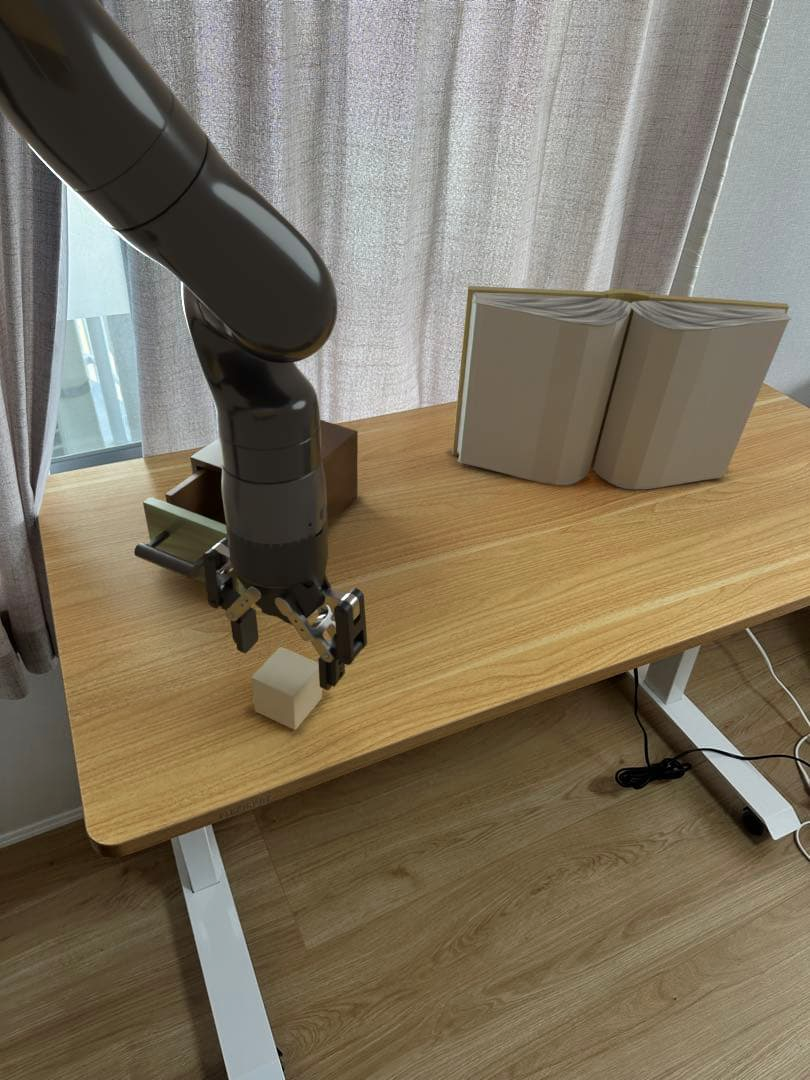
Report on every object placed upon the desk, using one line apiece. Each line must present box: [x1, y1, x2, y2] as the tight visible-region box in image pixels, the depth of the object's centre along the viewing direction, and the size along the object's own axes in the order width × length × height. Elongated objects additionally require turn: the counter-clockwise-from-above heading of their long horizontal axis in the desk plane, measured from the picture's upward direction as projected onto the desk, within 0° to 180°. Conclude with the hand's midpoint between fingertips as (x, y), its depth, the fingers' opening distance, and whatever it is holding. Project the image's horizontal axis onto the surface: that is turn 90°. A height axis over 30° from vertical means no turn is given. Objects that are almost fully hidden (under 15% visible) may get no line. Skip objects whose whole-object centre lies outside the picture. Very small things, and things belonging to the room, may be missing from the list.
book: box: [451, 285, 793, 491], centre depth 98 cm, size 36×8×24 cm, turn 87°
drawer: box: [133, 468, 246, 595], centre depth 86 cm, size 18×11×8 cm, turn 152°
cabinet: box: [189, 419, 359, 527], centre depth 94 cm, size 15×13×10 cm
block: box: [250, 646, 323, 731], centre depth 72 cm, size 4×4×4 cm
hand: (288, 664), depth 69 cm, fingers open, 8 cm apart
